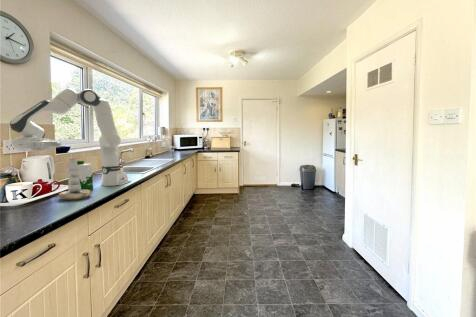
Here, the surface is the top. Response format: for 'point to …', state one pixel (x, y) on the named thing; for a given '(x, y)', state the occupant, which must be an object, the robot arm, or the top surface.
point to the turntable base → (75, 199)
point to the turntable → (74, 194)
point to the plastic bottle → (73, 176)
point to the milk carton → (85, 175)
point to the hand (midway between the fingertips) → (51, 144)
